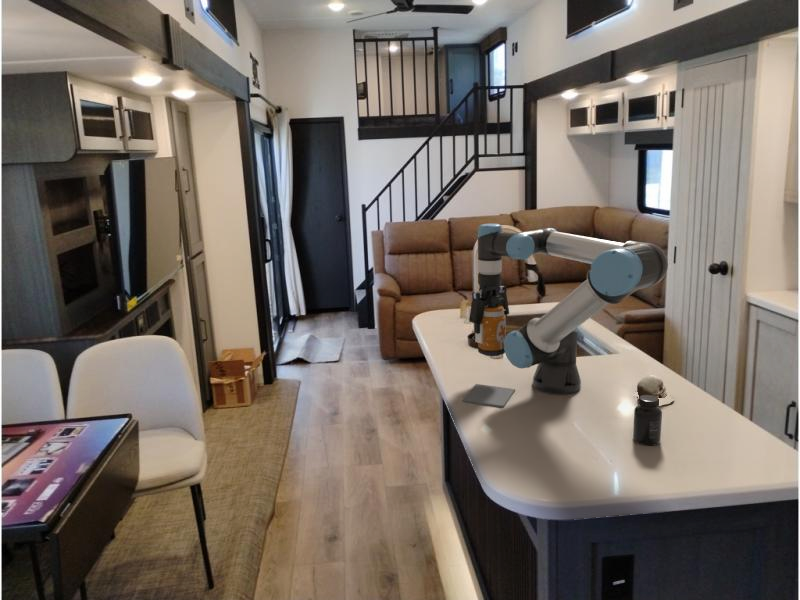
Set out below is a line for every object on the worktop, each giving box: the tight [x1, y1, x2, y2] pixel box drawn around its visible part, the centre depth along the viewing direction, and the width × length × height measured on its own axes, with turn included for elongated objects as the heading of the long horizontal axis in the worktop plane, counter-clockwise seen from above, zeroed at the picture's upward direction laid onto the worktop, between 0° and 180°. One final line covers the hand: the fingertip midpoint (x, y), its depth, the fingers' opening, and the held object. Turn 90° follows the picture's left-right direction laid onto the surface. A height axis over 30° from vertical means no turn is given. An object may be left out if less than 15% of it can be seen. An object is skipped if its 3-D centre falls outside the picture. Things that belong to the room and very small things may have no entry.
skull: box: [636, 374, 668, 398], centre depth 193 cm, size 12×10×10 cm
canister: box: [473, 295, 507, 357], centre depth 206 cm, size 9×11×20 cm
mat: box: [462, 383, 516, 408], centre depth 198 cm, size 13×14×1 cm
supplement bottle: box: [632, 395, 663, 446], centre depth 165 cm, size 7×7×12 cm
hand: (489, 339), depth 207 cm, fingers closed on canister, 9 cm apart
